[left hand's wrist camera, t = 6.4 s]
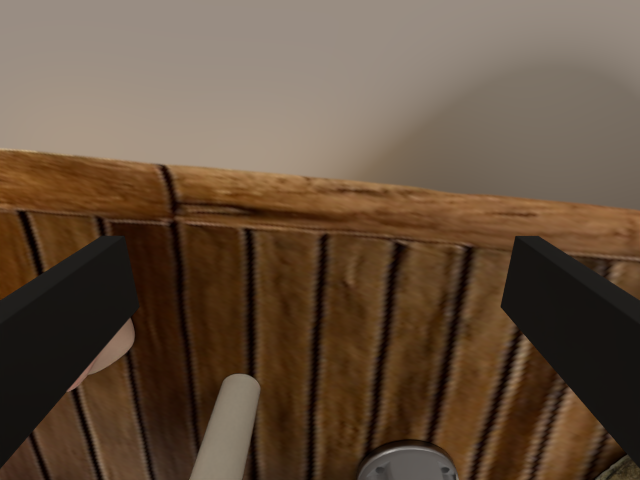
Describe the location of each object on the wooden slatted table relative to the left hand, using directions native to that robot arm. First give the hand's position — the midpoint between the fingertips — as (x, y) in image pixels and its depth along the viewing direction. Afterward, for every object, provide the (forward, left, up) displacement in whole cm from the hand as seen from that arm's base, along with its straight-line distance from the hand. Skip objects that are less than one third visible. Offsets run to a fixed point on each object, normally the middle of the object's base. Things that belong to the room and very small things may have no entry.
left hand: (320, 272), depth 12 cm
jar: (-32, +11, -28) cm, 44 cm away
